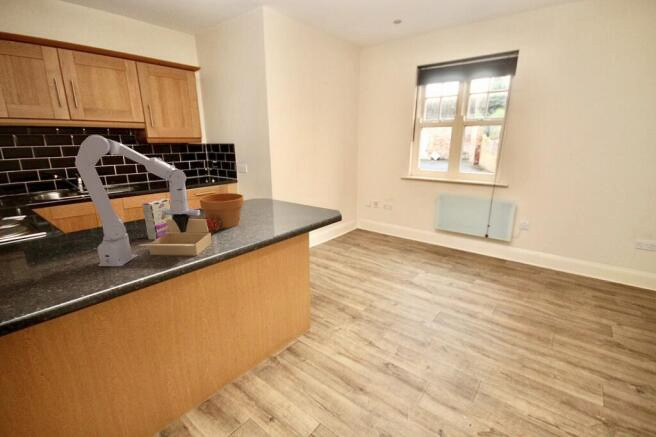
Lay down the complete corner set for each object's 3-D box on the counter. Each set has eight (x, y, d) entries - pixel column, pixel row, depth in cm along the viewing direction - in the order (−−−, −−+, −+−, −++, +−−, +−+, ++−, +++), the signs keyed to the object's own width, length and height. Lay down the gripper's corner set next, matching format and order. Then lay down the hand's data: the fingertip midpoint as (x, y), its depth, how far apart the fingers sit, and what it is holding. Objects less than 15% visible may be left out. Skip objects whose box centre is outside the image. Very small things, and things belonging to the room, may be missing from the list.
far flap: (169, 231, 122) (170, 231, 122) (208, 232, 122) (208, 231, 122) (165, 219, 118) (166, 218, 119) (205, 219, 118) (205, 219, 119)
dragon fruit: (225, 233, 141) (200, 241, 134) (218, 220, 144) (194, 228, 138) (226, 222, 135) (199, 230, 128) (218, 209, 138) (192, 217, 131)
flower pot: (237, 231, 139) (235, 201, 135) (194, 230, 139) (191, 200, 135) (250, 219, 159) (248, 193, 155) (212, 218, 160) (210, 192, 156)
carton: (197, 255, 110) (195, 244, 109) (150, 255, 110) (148, 244, 108) (211, 242, 123) (210, 232, 122) (169, 242, 123) (168, 232, 122)
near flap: (193, 244, 108) (193, 245, 108) (150, 243, 108) (150, 245, 108) (185, 245, 102) (185, 246, 102) (139, 244, 102) (139, 245, 102)
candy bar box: (166, 232, 137) (161, 198, 132) (175, 232, 136) (170, 198, 131) (147, 239, 126) (141, 203, 122) (157, 240, 125) (151, 204, 121)
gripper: (201, 197, 117) (205, 229, 121) (166, 197, 117) (170, 228, 121) (193, 201, 110) (197, 234, 114) (156, 200, 110) (161, 234, 114)
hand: (183, 232), depth 117 cm, fingers closed
